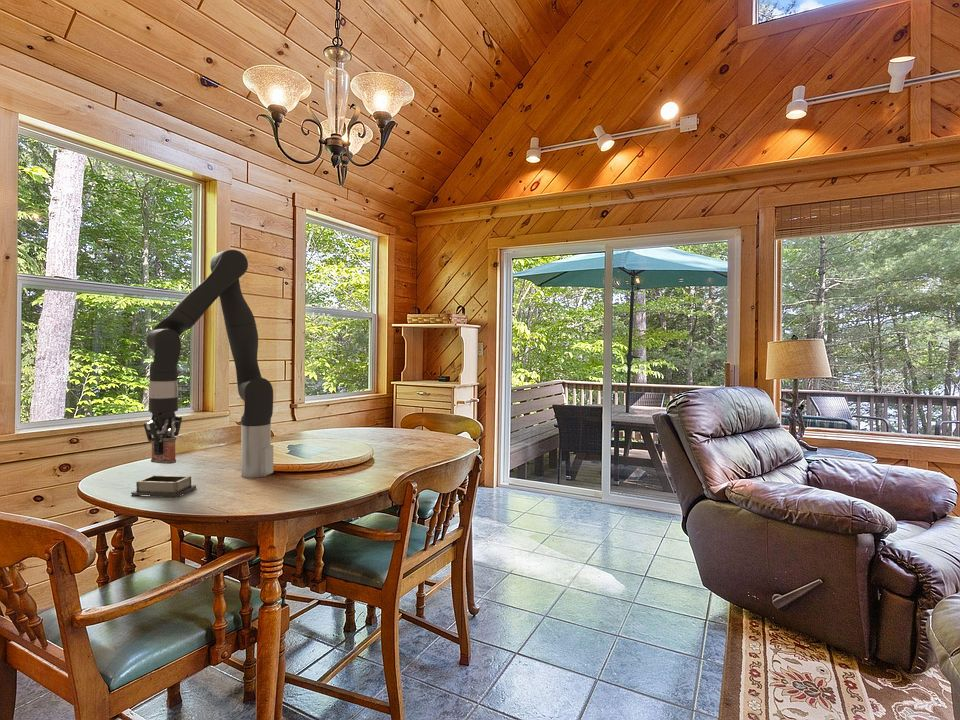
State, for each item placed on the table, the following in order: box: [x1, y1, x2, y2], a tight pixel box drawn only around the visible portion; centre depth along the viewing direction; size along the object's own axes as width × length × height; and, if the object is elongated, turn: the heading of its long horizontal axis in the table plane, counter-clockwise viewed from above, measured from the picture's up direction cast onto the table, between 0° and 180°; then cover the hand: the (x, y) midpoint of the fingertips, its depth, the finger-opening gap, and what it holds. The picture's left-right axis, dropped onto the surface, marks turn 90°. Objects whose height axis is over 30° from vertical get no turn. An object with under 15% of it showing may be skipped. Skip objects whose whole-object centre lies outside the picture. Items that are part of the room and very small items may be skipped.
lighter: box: [150, 429, 177, 465], centre depth 153 cm, size 8×3×10 cm, turn 74°
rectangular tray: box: [130, 474, 197, 498], centre depth 154 cm, size 9×14×4 cm, turn 86°
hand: (163, 452), depth 153 cm, fingers closed on lighter, 3 cm apart
